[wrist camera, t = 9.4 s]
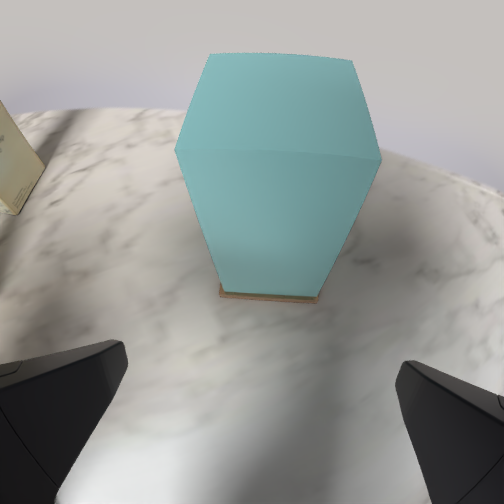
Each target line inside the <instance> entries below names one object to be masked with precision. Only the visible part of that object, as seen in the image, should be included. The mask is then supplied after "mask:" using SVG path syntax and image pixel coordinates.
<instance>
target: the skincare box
mask: <svg viewBox="0 0 504 504" xmlns="http://www.w3.org/2000/svg"><path fill="white" fill-rule="evenodd" d="M44 169H45V165H44V164H43V162H42V161H41V160H40V158H39V157H38V156H37V154H36V153H35V151H34V150H33V149H32V147H31V146H30V144H29V143H28V142H27V140H26V139H25V137H24V136H23V134H22V133H21V131H20V130H19V128H18V127H17V125H16V124H15V122H14V121H13V119H12V118H11V116H10V115H9V113H8V112H7V110H6V108H5V107H4V105H3V104H2V102H1V101H0V212H2V213H6V214H11V215H18V213H19V212H20V210H21V208H22V206H23V204H24V203H25V201H26V199H27V197H28V196H29V194H30V192H31V190H32V189H33V187H34V186H35V184H36V182H37V181H38V179H39V177H40V176H41V174H42V173H43V171H44Z"/></svg>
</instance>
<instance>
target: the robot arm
mask: <svg viewBox="0 0 504 504" xmlns="http://www.w3.org/2000/svg"><path fill="white" fill-rule="evenodd" d="M127 367H128V359H127V355H126V351H125V346H124V343H123V342H122V341H118V340H108V341H104V342H100V343H96V344H92V345H88V346H84V347H80V348H75V349H71V350H67V351H63V352H59V353H54V354H50V355H46V356H41V357H37V358H32V359H28V360H24V361H22V360H21V361H16V362H11V363H6V364H1V365H0V504H55V498H56V495H57V492H58V490H59V488H60V487H61V485H62V483H63V482H64V480H65V478H66V476H67V475H68V473H69V471H70V470H71V468H72V466H73V464H74V463H75V461H76V459H77V458H78V456H79V454H80V452H81V451H82V449H83V447H84V446H85V444H86V442H87V441H88V439H89V437H90V436H91V434H92V432H93V431H94V429H95V427H96V426H97V424H98V422H99V421H100V419H101V418H102V416H103V414H104V413H105V411H106V409H107V408H108V406H109V405H110V403H111V401H112V400H113V398H114V396H115V394H116V391H117V389H118V387H119V385H120V383H121V381H122V378H123V376H124V374H125V372H126V370H127ZM395 387H396V391H397V395H398V399H399V403H400V408H401V412H402V416H403V420H404V423H405V425H406V428H407V431H408V434H409V436H410V439H411V442H412V445H413V447H414V450H415V453H416V456H417V459H418V462H419V465H420V468H421V471H422V474H423V477H424V480H425V483H426V486H427V489H428V492H429V496H430V499H431V502H432V504H504V397H503V396H500V395H496V394H494V393H492V392H489V391H487V390H484V389H482V388H479V387H477V386H475V385H472V384H470V383H467V382H465V381H462V380H460V379H458V378H455V377H453V376H451V375H448V374H446V373H443V372H441V371H439V370H436V369H434V368H432V367H429V366H427V365H425V364H422V363H420V362H418V361H415V360H409V361H404V362H403V363H402V365H401V368H400V371H399V373H398V376H397V379H396V383H395Z"/></svg>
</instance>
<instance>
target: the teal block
mask: <svg viewBox="0 0 504 504" xmlns="http://www.w3.org/2000/svg"><path fill="white" fill-rule="evenodd" d="M175 153H176V156H177V159H178V162H179V165H180V168H181V171H182V174H183V177H184V180H185V183H186V186H187V189H188V192H189V195H190V198H191V200H192V203H193V206H194V209H195V212H196V215H197V218H198V221H199V223H200V226H201V229H202V232H203V235H204V238H205V240H206V243H207V246H208V249H209V251H210V254H211V257H212V260H213V262H214V265H215V268H216V271H217V273H218V276H219V279H220V281H221V284H222V287H223V289H224V291H226V292H240V293H256V294H273V295H291V296H312V297H317V295H318V293H319V291H320V290H321V288H322V286H323V284H324V282H325V280H326V278H327V276H328V274H329V272H330V270H331V268H332V266H333V264H334V262H335V260H336V258H337V256H338V254H339V252H340V250H341V248H342V246H343V244H344V242H345V240H346V238H347V236H348V234H349V232H350V230H351V228H352V226H353V224H354V221H355V219H356V217H357V215H358V213H359V211H360V209H361V206H362V204H363V202H364V200H365V198H366V195H367V193H368V191H369V189H370V186H371V184H372V182H373V180H374V177H375V175H376V173H377V170H378V168H379V166H380V163H381V161H382V159H381V155H380V151H379V147H378V143H377V139H376V136H375V132H374V128H373V124H372V121H371V117H370V114H369V111H368V107H367V104H366V101H365V97H364V94H363V91H362V88H361V85H360V82H359V79H358V76H357V73H356V71H355V68H354V65H353V62H352V61H351V60H344V59H336V58H329V57H319V56H308V55H296V54H277V53H222V54H221V53H220V54H210V56H209V58H208V60H207V62H206V65H205V67H204V70H203V72H202V75H201V77H200V80H199V82H198V85H197V88H196V90H195V93H194V95H193V98H192V101H191V103H190V106H189V109H188V112H187V114H186V117H185V120H184V123H183V126H182V129H181V132H180V134H179V137H178V140H177V143H176V147H175Z"/></svg>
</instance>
